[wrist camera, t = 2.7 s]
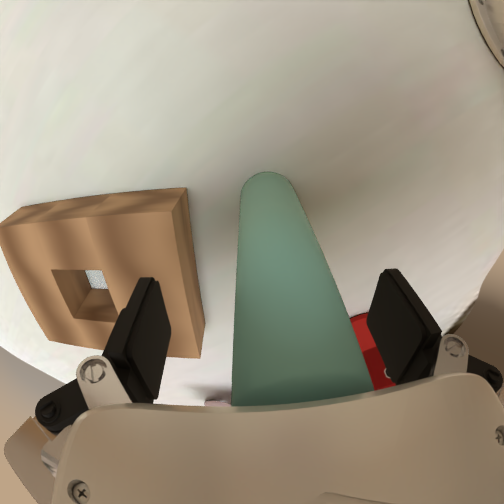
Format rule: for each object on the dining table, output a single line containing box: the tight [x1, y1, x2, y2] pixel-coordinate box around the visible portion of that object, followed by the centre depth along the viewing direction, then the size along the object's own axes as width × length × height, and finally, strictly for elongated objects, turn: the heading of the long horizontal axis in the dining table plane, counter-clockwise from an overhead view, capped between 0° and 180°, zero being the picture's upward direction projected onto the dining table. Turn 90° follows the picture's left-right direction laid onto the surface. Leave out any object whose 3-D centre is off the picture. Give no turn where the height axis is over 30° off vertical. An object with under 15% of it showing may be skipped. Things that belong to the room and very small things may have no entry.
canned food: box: [350, 313, 396, 391], centre depth 24 cm, size 8×8×11 cm
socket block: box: [0, 188, 205, 359], centre depth 21 cm, size 18×14×4 cm
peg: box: [231, 172, 374, 407], centre depth 13 cm, size 4×4×16 cm
